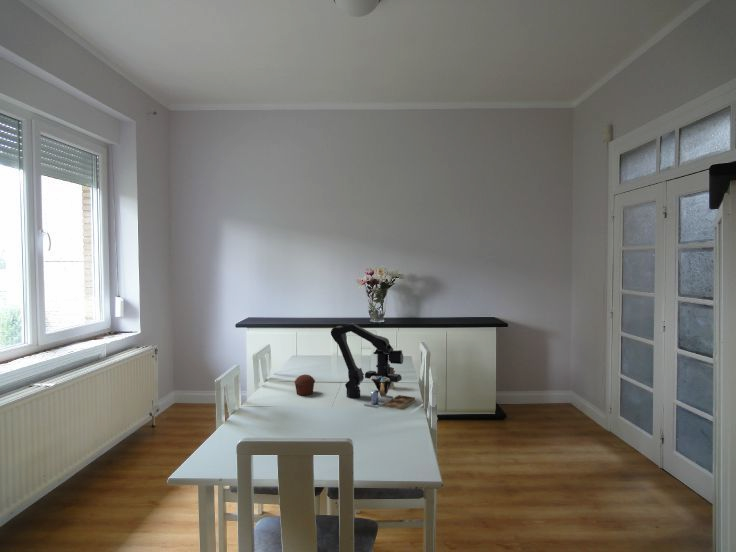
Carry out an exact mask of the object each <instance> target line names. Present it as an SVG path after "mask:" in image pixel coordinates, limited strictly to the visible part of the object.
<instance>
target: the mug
mask: <svg viewBox="0 0 736 552" xmlns="http://www.w3.org/2000/svg"><path fill="white" fill-rule="evenodd" d="M395 372H396V369H395V368H394V371H393V374H396V373H395ZM393 374H389V375H393ZM384 377H386V376H384ZM381 381H387V379H386V378H381ZM381 381H380V382H381ZM395 387H396V386H395V382H391V384H390V387H389V390H392V389H395Z"/></svg>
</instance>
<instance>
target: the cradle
mask: <svg viewBox="0 0 736 552" xmlns="http://www.w3.org/2000/svg"><path fill="white" fill-rule="evenodd" d="M393 398H394V396H392V395H386V396H378V405H371V401H370V402H368V403H364V404H363V406H364V407H368V408H373V409H378V408H379V407H381V406H383V405H385V403H386V402H388V401H390V400H391V399H393Z"/></svg>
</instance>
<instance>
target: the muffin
mask: <svg viewBox="0 0 736 552" xmlns="http://www.w3.org/2000/svg"><path fill="white" fill-rule="evenodd" d="M315 383H316V380H315V378H314V377H313V376H311V375H310V374H302V375H301V374H300V375H299V376H297V377H296V378H295V380H294V385H295V391H296V395H298V396H301V397H306V396H311V395H313V393H314V387H315V386H314V385H315Z"/></svg>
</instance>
